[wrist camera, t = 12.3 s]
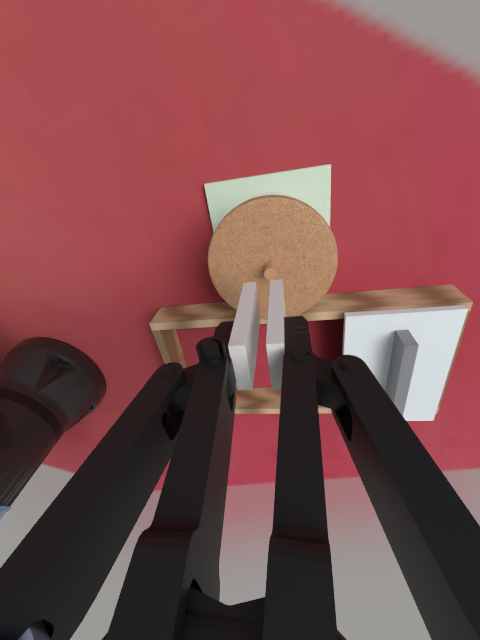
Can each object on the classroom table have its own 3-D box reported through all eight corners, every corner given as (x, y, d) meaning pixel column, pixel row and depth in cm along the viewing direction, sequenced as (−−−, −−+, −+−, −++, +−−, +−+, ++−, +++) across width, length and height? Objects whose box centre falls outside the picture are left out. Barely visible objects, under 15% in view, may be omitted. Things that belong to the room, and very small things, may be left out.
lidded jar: (326, 279, 31) (342, 325, 24) (233, 290, 34) (219, 336, 26) (323, 172, 26) (342, 187, 18) (212, 193, 28) (186, 215, 20)
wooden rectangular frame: (190, 393, 45) (183, 413, 42) (161, 306, 37) (149, 323, 33) (424, 389, 39) (437, 412, 36) (451, 284, 31) (472, 302, 27)
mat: (226, 290, 34) (225, 293, 34) (205, 183, 28) (203, 184, 28) (328, 282, 32) (329, 284, 32) (329, 163, 26) (330, 164, 26)
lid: (339, 415, 38) (344, 438, 35) (344, 312, 29) (351, 331, 26) (430, 415, 36) (443, 439, 33) (463, 304, 27) (485, 324, 24)
